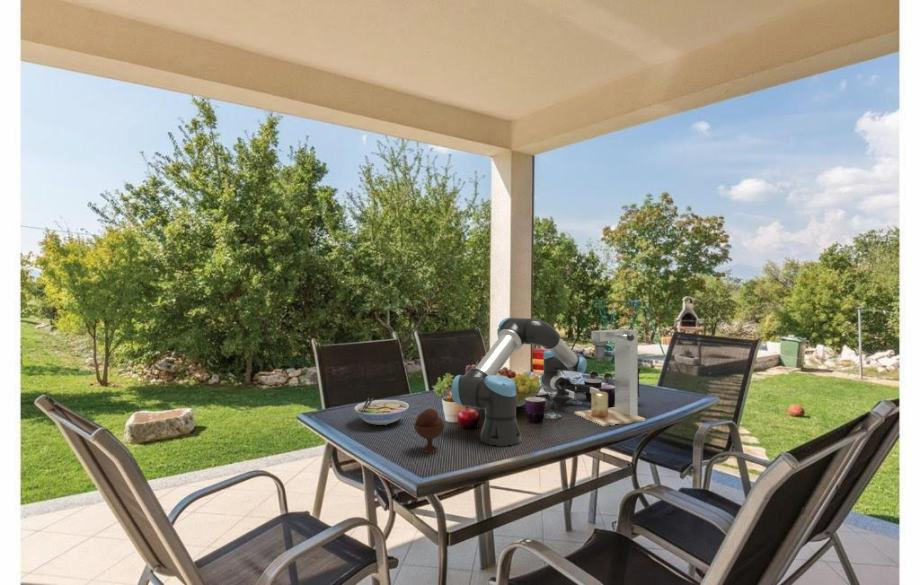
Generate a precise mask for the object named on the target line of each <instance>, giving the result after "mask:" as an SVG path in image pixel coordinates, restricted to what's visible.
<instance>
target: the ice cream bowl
mask: <svg viewBox="0 0 920 585" xmlns="http://www.w3.org/2000/svg"><path fill="white" fill-rule="evenodd" d="M415 420H416V421H415V422H414V424H413V426H414V430H415V432H416V433H417V434H418V436H420V437H422V439H425V440H426V441H427V442H426V443H427V444H426V445H424V446H423V447H422V449H421V451H422V450H423V451H427V452H433V451H436V450H437V449H438V447H437V446H435V445H434V444H433V440H434V439H436V438H439V436H441V434H442V432H443V430H444V428H445V425H446V422H445V421H444V420H443V419H442V417H440V416H439V414H438V411H437V410H436V409H433V408H426V409H425V410H424V411H422V412H420V413H419V414H418V415H417V418H416V419H415ZM423 451H422V452H423ZM437 451H438V450H437ZM437 451H436V452H437Z"/></svg>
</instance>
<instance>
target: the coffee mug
mask: <svg viewBox="0 0 920 585" xmlns="http://www.w3.org/2000/svg"><path fill="white" fill-rule="evenodd" d="M583 380H584V381H583V383H582V384H583V385H590V386H591V385H593V386H595V388H596V389H599V388H601V389H602V383H603V381H602V380H601V379H596V378H594V379H593V378H588V379H583ZM580 393H581V394H583V395H584V396H585V398H586V400H585V401H586V402H588V401H589V403H591V393H590V392H584V391H580Z"/></svg>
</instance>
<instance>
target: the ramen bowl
mask: <svg viewBox="0 0 920 585" xmlns="http://www.w3.org/2000/svg"><path fill="white" fill-rule="evenodd" d="M374 398H375V397H374V396H372V397H371V398H370V397H369V396H368V397H367V400H366V401H364V402H361V403H358V404H356V405H355V406H354V411H355V413H356V414H357V416H358V417H359V418H360V419H361V420H363V421H364V422H365V423H368V424H371V425H374V424H375V425H374V426H376V425H385V424H389V425H390V423H391V424H393V423H395V422H398V421H400V419H401V418H403V416H404V415H405V414H406V413H407V411H408V409H409V406H410V405H409V403H407V402H405V401H403V400H398V399H375V400H374ZM385 426H386V425H385Z"/></svg>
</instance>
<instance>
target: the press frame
mask: <svg viewBox="0 0 920 585" xmlns="http://www.w3.org/2000/svg"><path fill="white" fill-rule="evenodd" d="M638 338H639V337H638V330H633V329H625V328H624V329H623V328H618V329H617V328H615V329H606V330H605V329H603V330H602V329H601V330H591V339H590V340H591V341H592V346H594V359H595V360H599V361H602V360H603V361H604V360H605V346H607V342H614V407H615V411H617V412H620V413H622V414H625V415H627V416H639V414H638V410H639V409H638V403H639V402H638V398H639V397H638V368H639V366H638V359H639V358H638V347H639V346H638Z"/></svg>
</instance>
